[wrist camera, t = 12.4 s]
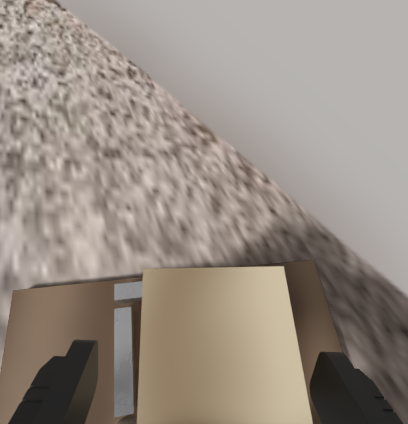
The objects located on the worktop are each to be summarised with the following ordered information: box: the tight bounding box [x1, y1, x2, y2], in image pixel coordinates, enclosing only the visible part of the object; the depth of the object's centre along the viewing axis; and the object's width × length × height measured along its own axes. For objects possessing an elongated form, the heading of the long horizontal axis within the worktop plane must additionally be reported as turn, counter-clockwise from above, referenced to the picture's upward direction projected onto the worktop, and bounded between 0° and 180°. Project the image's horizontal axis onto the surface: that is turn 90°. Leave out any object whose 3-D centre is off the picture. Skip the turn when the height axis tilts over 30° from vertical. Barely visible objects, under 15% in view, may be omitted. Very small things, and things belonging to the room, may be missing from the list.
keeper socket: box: [114, 281, 143, 424], centre depth 18 cm, size 8×8×2 cm
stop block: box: [137, 266, 313, 424], centre depth 13 cm, size 4×4×12 cm
